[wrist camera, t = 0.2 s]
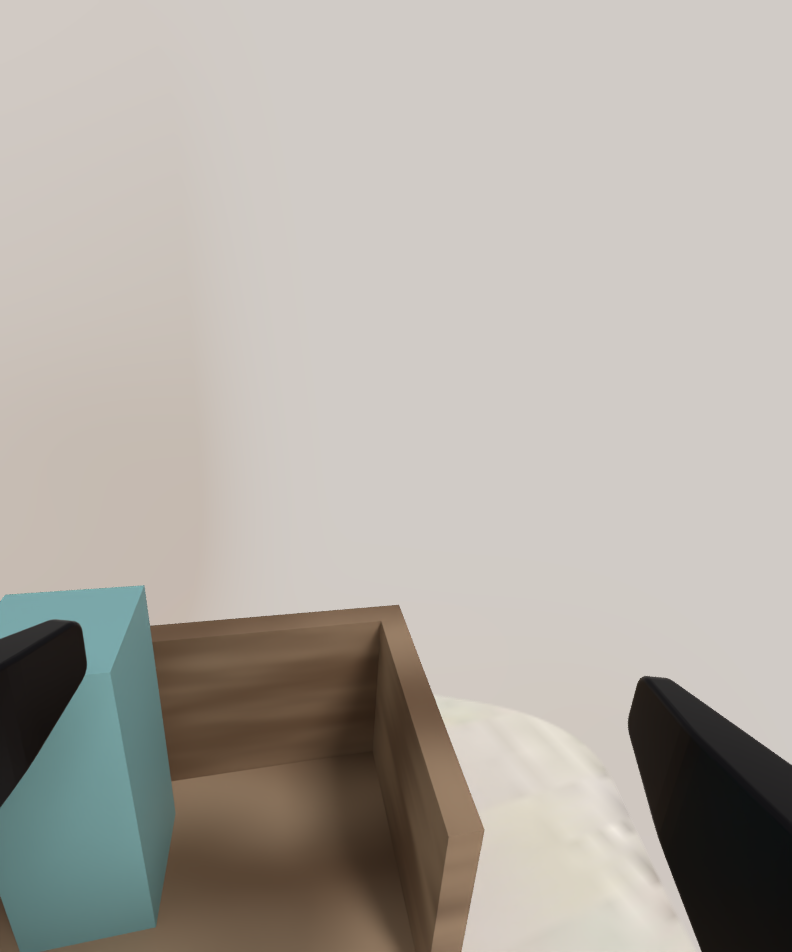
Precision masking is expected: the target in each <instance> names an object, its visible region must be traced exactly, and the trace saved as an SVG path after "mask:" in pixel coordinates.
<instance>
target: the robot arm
mask: <svg viewBox="0 0 792 952" xmlns="http://www.w3.org/2000/svg"><path fill="white" fill-rule="evenodd" d="M86 670H87V658H86V651H85V644H84V637H83V630H82V627H81V625H80V624H79V623H78V622H76V621H69V620H59V619H52V620H48V621H45V622H43V623H40V624H38V625H35V626H32V627H30V628H27V629H25V630H22V631H19V632H17V633H14V634H11V635H9V636H6V637H4V638H1V639H0V808H1V806H2V805H3V804H4V802H5V801H6V800H7V798H8V797H9V795H10V794H11V793H12V791H13V790H14V789H15V787H16V786H17V784H18V783H19V782H20V780H21V779H22V777H23V776H24V774H25V773H26V772H27V770H28V769H29V767H30V765H31V764H32V762H33V761H34V759H35V758H36V756H37V755H38V753H39V751H40V750H41V748H42V746H43V745H44V743H45V742H46V740H47V738H48V737H49V735H50V733H51V732H52V730H53V728H54V727H55V725H56V723H57V722H58V720H59V718H60V717H61V715H62V713H63V712H64V710H65V709H66V707H67V705H68V704H69V702H70V700H71V699H72V697H73V695H74V694H75V692H76V690H77V689H78V687H79V685H80V684H81V682H82V680H83V678H84V676H85V674H86ZM628 730H629V735H630V739H631V743H632V746H633V750H634V753H635V757H636V760H637V764H638V768H639V771H640V775H641V779H642V782H643V786H644V790H645V793H646V797H647V800H648V804H649V808H650V811H651V815H652V819H653V822H654V825H655V828H656V832H657V835H658V838H659V841H660V844H661V846H662V849H663V852H664V855H665V858H666V860H667V862H668V865H669V868H670V870H671V873H672V876H673V878H674V881H675V884H676V886H677V889H678V891H679V894H680V897H681V899H682V902H683V904H684V907H685V910H686V912H687V915H688V917H689V920H690V922H691V925H692V928H693V930H694V933H695V936H696V938H697V941H698V943H699V946H700V949H701V951H702V952H792V765H791V764H789V763H788V762H786V761H785V760H783V759H782V758H781V757H779V756H778V755H777V754H775V753H774V752H772V751H771V750H770V749H768V748H767V747H765V746H764V745H762V744H761V743H760V742H758V741H757V740H755V739H754V738H753V737H751V736H750V735H748V734H747V733H746V732H744V731H743V730H741V729H740V728H738V727H737V726H736V725H734V724H733V723H731V722H730V721H729V720H727V719H726V718H724V717H723V716H721V715H720V714H719V713H717V712H716V711H714V710H713V709H712V708H710V707H709V706H707V705H706V704H704V703H703V702H702V701H700V700H699V699H698V698H696V697H695V696H693V695H692V694H690V693H689V692H688V691H686V690H685V689H683V688H682V687H680V686H679V685H678V684H676V683H675V682H673V681H672V680H670V679H668V678H661V677H650V676H644V677H642V678H640V680H639V681H638V683H637V687H636V691H635V694H634V698H633V702H632V706H631V710H630V713H629V718H628Z"/></svg>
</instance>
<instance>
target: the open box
mask: <svg viewBox="0 0 792 952" xmlns="http://www.w3.org/2000/svg"><path fill="white" fill-rule="evenodd" d="M150 630H151V638H152V645H153V652H154V660H155V667H156V674H157V681H158V689H159V696H160V703H161V710H162V718H163V725H164V732H165V740H166V747H167V754H168V761H169V769H170V776H171V783H172V790H173V798H174V805H175V812H176V814H175V820H174V825H173V831H172V837H171V843H170V849H169V854H168V860H167V866H166V872H165V878H164V883H163V889H162V895H161V901H160V907H159V912H158V918H157V924H156V927H155V928H150V929H145V930H141V931H136V932H131V933H126V934H122V935H117V936H112V937H108V938H103V939H98V940H93V941H89V942H84V943H79V944H74V945H70V946H65V947H60V948H55V949H51V950H46V951H41V952H461V950H462V945H463V940H464V935H465V929H466V924H467V919H468V913H469V908H470V903H471V898H472V892H473V887H474V882H475V877H476V871H477V866H478V861H479V856H480V850H481V845H482V840H483V835H484V828H483V825H482V822H481V820H480V817H479V814H478V812H477V809H476V806H475V804H474V801H473V799H472V796H471V793H470V791H469V788H468V785H467V783H466V780H465V778H464V775H463V772H462V770H461V767H460V764H459V762H458V759H457V756H456V754H455V751H454V749H453V746H452V743H451V741H450V738H449V735H448V733H447V730H446V728H445V725H444V722H443V720H442V717H441V714H440V712H439V709H438V707H437V704H436V701H435V699H434V696H433V693H432V691H431V688H430V685H429V683H428V680H427V678H426V675H425V672H424V670H423V667H422V664H421V662H420V659H419V657H418V654H417V651H416V649H415V646H414V644H413V641H412V638H411V635H410V633H409V630H408V628H407V625H406V622H405V620H404V617H403V614H402V612H401V609H400V607H399V605H392V606H380V607H368V608H356V609H345V610H333V611H321V612H309V613H297V614H285V615H273V616H261V617H250V618H238V619H227V620H214V621H203V622H191V623H180V624H167V625H155V626H150ZM0 952H20V951H19V948H18V945H17V942H16V939H15V936H14V934H13V931H12V928H11V925H10V922H9V919H8V917H7V914H6V911H5V908H4V905H3V902H2V900H1V897H0Z"/></svg>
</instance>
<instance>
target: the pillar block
mask: <svg viewBox="0 0 792 952" xmlns="http://www.w3.org/2000/svg"><path fill="white" fill-rule="evenodd" d="M52 619H59V620H69V621H76V622H78V623H79V624H80V625H81V627H82V630H83V637H84V644H85V651H86V658H87V670H86V674H85V676H84V678H83V680H82V682H81V684H80V685H79V687H78V689H77V690H76V692H75V694H74V695H73V697H72V699H71V700H70V702H69V704H68V705H67V707H66V709H65V710H64V712H63V713H62V715H61V717H60V718H59V720H58V722H57V723H56V725H55V727H54V728H53V730H52V732H51V733H50V735H49V737H48V738H47V740H46V742H45V743H44V745H43V746H42V748H41V750H40V751H39V753H38V755H37V756H36V758H35V759H34V761H33V762H32V764H31V765H30V767H29V769H28V770H27V772H26V773H25V774H24V776H23V777H22V779H21V780H20V782H19V783H18V784H17V786H16V787H15V789H14V790H13V791H12V793H11V794H10V795H9V797H8V798H7V800H6V801H5V802H4V804H3V805H2V806H1V808H0V897H1V900H2V902H3V905H4V908H5V911H6V914H7V917H8V919H9V922H10V925H11V928H12V931H13V934H14V936H15V939H16V942H17V945H18V948H19V951H20V952H41V951H46V950H51V949H55V948H60V947H65V946H70V945H74V944H79V943H84V942H89V941H93V940H98V939H103V938H108V937H112V936H117V935H122V934H126V933H131V932H136V931H141V930H145V929H150V928H155V927H156V924H157V918H158V912H159V907H160V901H161V895H162V889H163V883H164V878H165V872H166V866H167V860H168V854H169V849H170V843H171V837H172V831H173V825H174V820H175V814H176V812H175V805H174V798H173V790H172V783H171V776H170V769H169V761H168V754H167V747H166V740H165V732H164V725H163V718H162V710H161V703H160V696H159V689H158V681H157V674H156V667H155V660H154V652H153V645H152V638H151V630H150V623H149V616H148V609H147V601H146V594H145V587H144V585H143V586H130V587H115V588H99V589H84V590H69V591H55V592H40V593H25V594H10V595H5V596H4V597H3V598H2V600H1V601H0V639H1V638H4V637H6V636H9V635H11V634H14V633H17V632H19V631H22V630H25V629H27V628H30V627H32V626H35V625H38V624H40V623H43V622H45V621H48V620H52Z"/></svg>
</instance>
